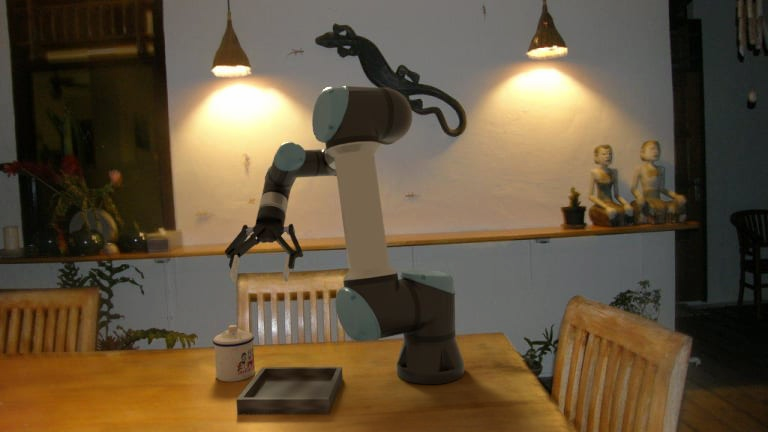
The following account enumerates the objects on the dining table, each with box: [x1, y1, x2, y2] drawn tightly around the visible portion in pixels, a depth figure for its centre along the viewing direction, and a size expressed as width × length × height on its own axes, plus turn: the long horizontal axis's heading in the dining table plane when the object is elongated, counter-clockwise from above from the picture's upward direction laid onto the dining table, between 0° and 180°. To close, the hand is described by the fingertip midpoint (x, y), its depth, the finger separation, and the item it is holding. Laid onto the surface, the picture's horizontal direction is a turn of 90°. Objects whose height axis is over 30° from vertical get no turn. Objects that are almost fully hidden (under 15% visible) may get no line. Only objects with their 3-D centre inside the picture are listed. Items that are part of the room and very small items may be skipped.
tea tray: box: [236, 366, 344, 415], centre depth 127 cm, size 18×18×3 cm
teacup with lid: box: [212, 324, 256, 383], centre depth 141 cm, size 12×9×12 cm
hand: (258, 279), depth 153 cm, fingers open, 13 cm apart
